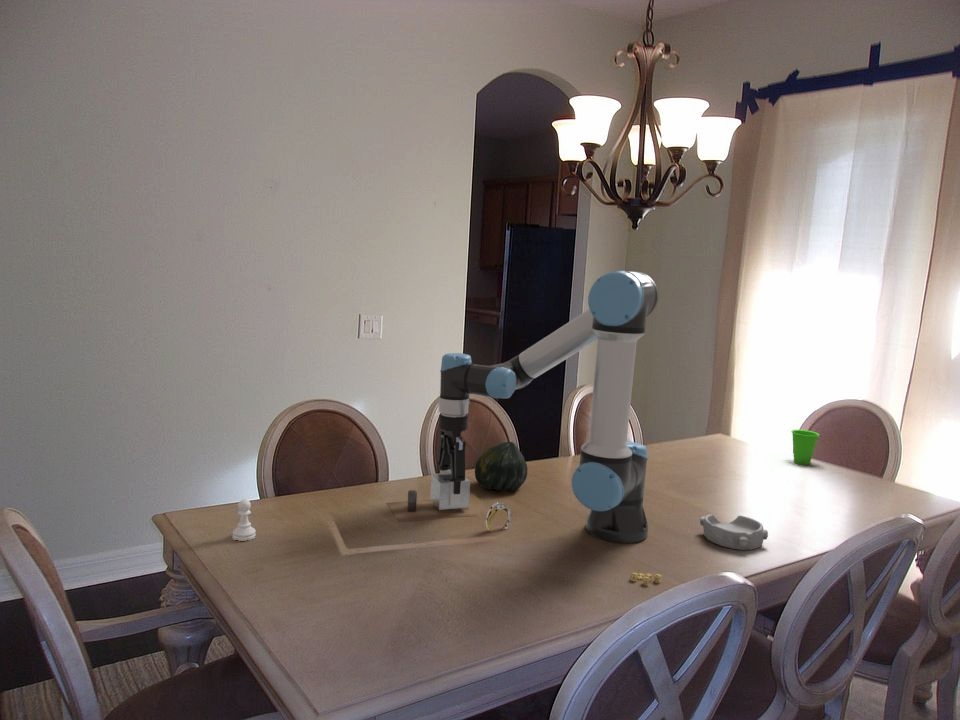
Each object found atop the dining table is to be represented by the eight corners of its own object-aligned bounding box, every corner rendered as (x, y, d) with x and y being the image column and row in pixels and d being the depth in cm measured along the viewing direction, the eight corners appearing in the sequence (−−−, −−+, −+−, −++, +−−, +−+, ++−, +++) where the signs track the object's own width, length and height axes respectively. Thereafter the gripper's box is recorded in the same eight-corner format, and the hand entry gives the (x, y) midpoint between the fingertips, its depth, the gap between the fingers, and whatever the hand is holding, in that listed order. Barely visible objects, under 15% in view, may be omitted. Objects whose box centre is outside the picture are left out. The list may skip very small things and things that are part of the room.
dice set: (662, 584, 154) (662, 576, 154) (647, 590, 151) (648, 582, 151) (642, 576, 158) (643, 567, 158) (627, 581, 155) (628, 573, 154)
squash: (463, 462, 216) (482, 433, 206) (507, 460, 223) (527, 432, 213) (477, 504, 208) (497, 477, 197) (521, 501, 214) (543, 474, 204)
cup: (817, 462, 258) (821, 432, 257) (813, 468, 251) (817, 437, 249) (790, 457, 263) (793, 428, 261) (786, 463, 255) (789, 432, 254)
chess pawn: (260, 537, 167) (260, 499, 165) (243, 543, 162) (243, 505, 161) (245, 531, 169) (245, 494, 168) (227, 538, 165) (227, 500, 163)
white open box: (468, 507, 186) (470, 481, 185) (439, 509, 184) (440, 483, 183) (459, 497, 194) (460, 472, 193) (430, 499, 191) (431, 473, 190)
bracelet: (489, 538, 173) (490, 506, 171) (482, 534, 175) (483, 502, 174) (513, 534, 176) (515, 502, 175) (506, 529, 179) (508, 498, 178)
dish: (691, 533, 184) (693, 514, 183) (736, 528, 189) (737, 510, 188) (730, 556, 170) (732, 535, 170) (776, 550, 175) (778, 530, 175)
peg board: (476, 520, 184) (477, 496, 183) (399, 526, 177) (400, 502, 176) (458, 501, 197) (459, 479, 196) (386, 507, 190) (387, 484, 189)
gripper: (481, 422, 177) (476, 512, 180) (454, 405, 196) (450, 486, 200) (452, 423, 174) (448, 514, 178) (428, 405, 194) (424, 488, 197)
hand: (449, 499), depth 189 cm, fingers closed on white open box, 8 cm apart
